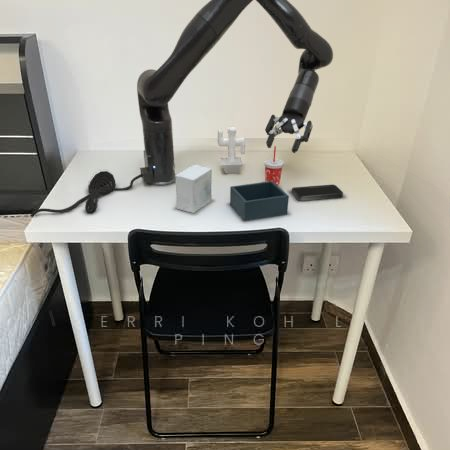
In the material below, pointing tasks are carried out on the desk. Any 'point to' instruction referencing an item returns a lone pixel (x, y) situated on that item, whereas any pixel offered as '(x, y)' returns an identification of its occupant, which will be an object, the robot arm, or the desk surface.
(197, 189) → the cosmetics box
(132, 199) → the desk surface
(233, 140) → the figurine
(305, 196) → the phone
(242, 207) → the tub
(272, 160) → the beverage cup
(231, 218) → the desk surface
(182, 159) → the desk surface
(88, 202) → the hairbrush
